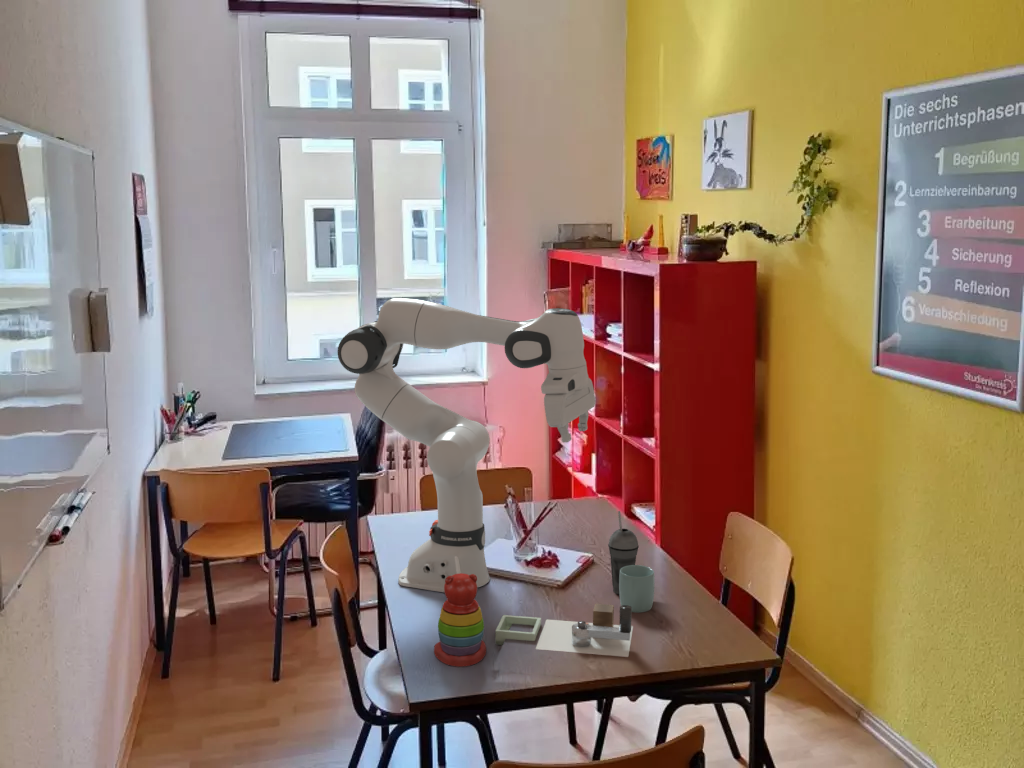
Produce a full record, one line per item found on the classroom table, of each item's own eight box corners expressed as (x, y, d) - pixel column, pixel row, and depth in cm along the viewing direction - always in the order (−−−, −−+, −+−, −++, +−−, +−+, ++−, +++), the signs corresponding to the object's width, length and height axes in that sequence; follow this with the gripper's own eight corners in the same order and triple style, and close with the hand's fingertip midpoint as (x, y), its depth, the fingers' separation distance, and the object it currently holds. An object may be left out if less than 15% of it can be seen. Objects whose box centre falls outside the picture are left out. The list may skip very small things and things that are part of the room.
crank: (570, 645, 200) (571, 607, 199) (573, 637, 204) (573, 599, 203) (630, 650, 198) (630, 611, 197) (631, 642, 202) (632, 604, 201)
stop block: (592, 637, 205) (593, 611, 204) (594, 629, 209) (595, 603, 208) (611, 639, 204) (612, 612, 203) (613, 631, 208) (613, 605, 207)
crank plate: (535, 655, 200) (535, 648, 200) (546, 625, 215) (546, 619, 214) (628, 663, 197) (628, 656, 196) (632, 632, 211) (633, 625, 211)
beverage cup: (636, 598, 230) (638, 517, 226) (605, 596, 231) (607, 515, 228) (638, 586, 237) (640, 508, 233) (608, 584, 238) (610, 506, 235)
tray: (495, 644, 205) (495, 630, 205) (503, 627, 214) (503, 614, 213) (534, 647, 204) (534, 634, 203) (540, 630, 212) (541, 617, 212)
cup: (612, 609, 224) (613, 567, 222) (642, 603, 227) (643, 562, 225) (629, 621, 217) (630, 579, 215) (659, 616, 220) (660, 574, 218)
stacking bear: (484, 644, 206) (484, 563, 203) (490, 665, 196) (489, 582, 193) (433, 647, 204) (432, 566, 201) (436, 669, 194) (435, 584, 191)
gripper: (574, 368, 234) (580, 424, 237) (537, 388, 217) (544, 447, 220) (598, 368, 231) (604, 424, 234) (562, 387, 214) (569, 448, 217)
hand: (575, 436), depth 227 cm, fingers open, 8 cm apart
